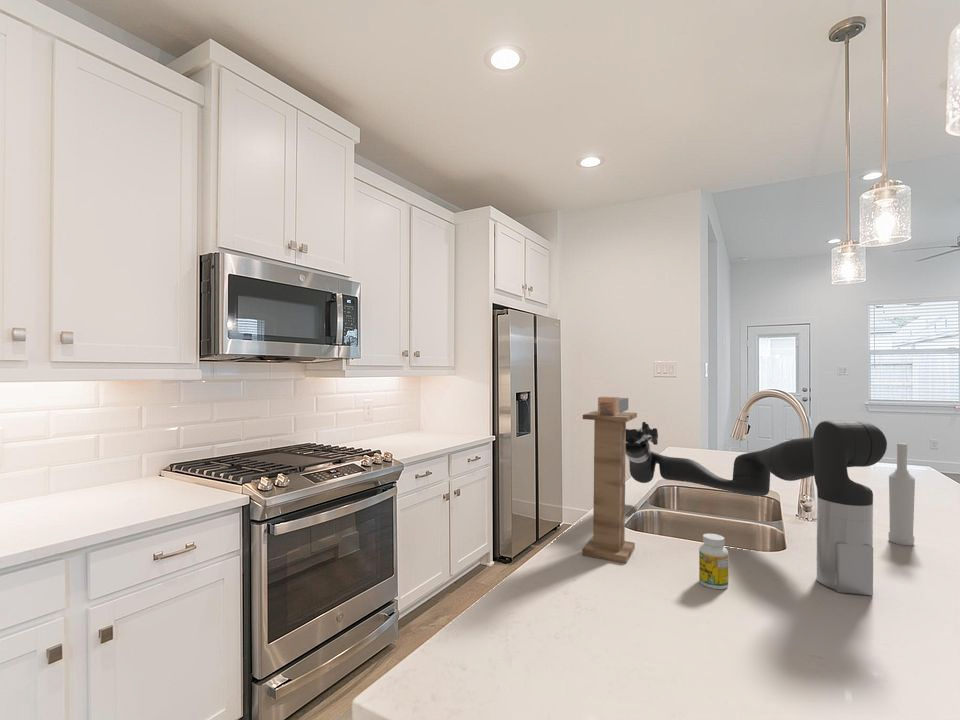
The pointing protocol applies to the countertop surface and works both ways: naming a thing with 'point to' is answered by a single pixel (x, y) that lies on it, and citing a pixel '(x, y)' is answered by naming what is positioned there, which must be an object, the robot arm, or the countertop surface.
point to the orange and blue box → (612, 405)
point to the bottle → (901, 500)
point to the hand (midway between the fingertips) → (627, 423)
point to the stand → (609, 488)
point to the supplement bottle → (713, 562)
